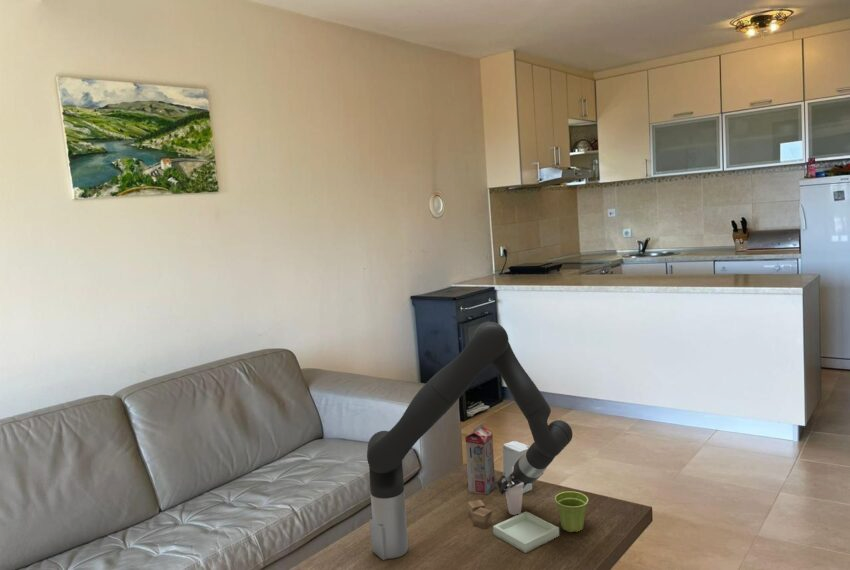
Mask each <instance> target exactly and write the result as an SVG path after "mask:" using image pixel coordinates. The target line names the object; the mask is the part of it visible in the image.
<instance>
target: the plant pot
mask: <svg viewBox="0 0 850 570" xmlns="http://www.w3.org/2000/svg"><path fill="white" fill-rule="evenodd" d="M554 501H555V503H556V506H557V508H558V514H559V519H560V527H561V528H562V530H564V531H565V530H566V531H565V532H569V533H573V532H577V533H579V532H580V530H581V531H582V530H583V529H584V526H585V525H584V523H585V515H586V508H587V506H588V504H589V497H588V496H587V495H585V494H584V493H582V492H578V491H573V490H572V491H570V490H569V491H563V492H559V493H558V494H556V495H554ZM578 531H579V532H578Z"/></svg>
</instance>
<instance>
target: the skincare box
mask: <svg viewBox="0 0 850 570" xmlns="http://www.w3.org/2000/svg"><path fill="white" fill-rule="evenodd" d="M529 447H530V446H529V445H527V444H525V443H523V442H519V441H517V440H513V441H509V442H507V443H503V445H502V448H503V449H502V450H503V451H502V456H503V458H502V459H503V460H502V463H503V464H502V465H503V466H502V467H503V468H502V469H503V470H502V471H503V472H502V476H504V475H505V477H507V476H509V475H510V474H512V467H514V465H515V463H516V462H517V460H518V459H519V458H520V457H521V456H522V454H523V453H524V452H525V451H526V450H528V448H529ZM532 490H533V483H530V484H527V485H526V486H525V487H524V488H523V494H525V493H527V492H529V491H532Z"/></svg>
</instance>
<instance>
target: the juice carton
mask: <svg viewBox="0 0 850 570" xmlns="http://www.w3.org/2000/svg"><path fill="white" fill-rule="evenodd" d="M493 439H494V438H493V432H492V431H491V430H489V429H488V428H486V427H485V426H484V421H481V422H480V423H478V425H476V426H475V427H474V428H473V431H471V432H470V433H469V434H468V435H466V436H465V451H466V452H465V453H466V454H465V455H466V467H467V468H466V469H467V484H468V485H467V486H468V492H469V493H474V494H475V493H476V494H481V495H488V494H489V493H490V492H492V490H493V489H494V488H495V487H496V479H495V477H496V476H495V475H496V474H495V459H494V457H495V456H494V454H495V453H494V440H493Z"/></svg>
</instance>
